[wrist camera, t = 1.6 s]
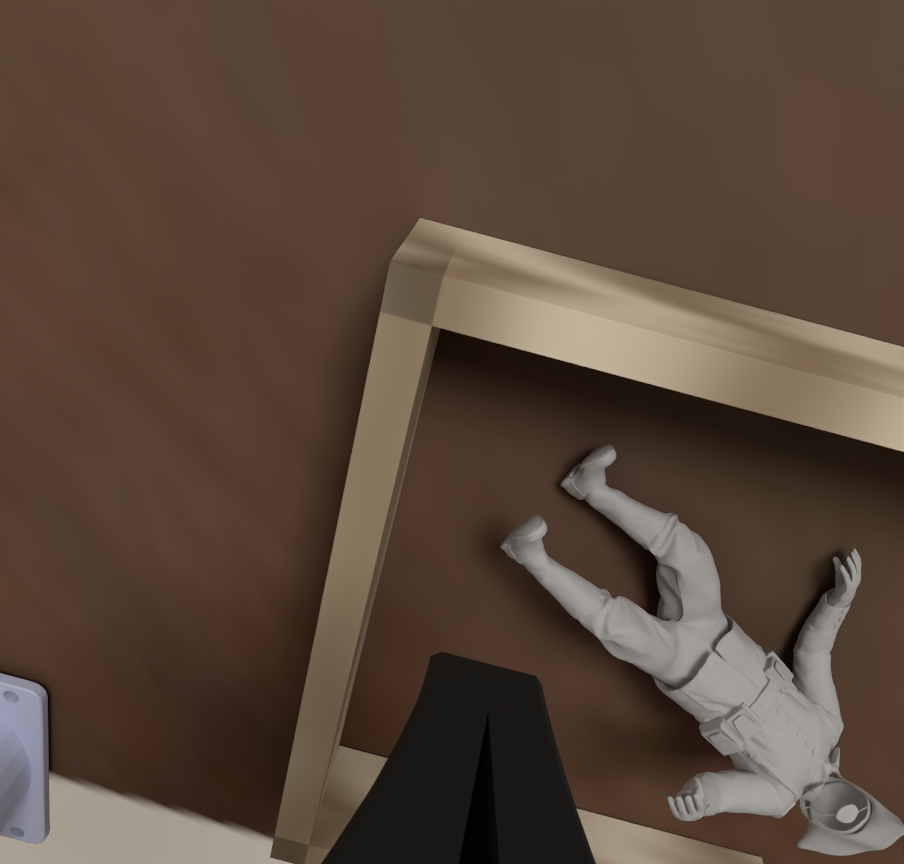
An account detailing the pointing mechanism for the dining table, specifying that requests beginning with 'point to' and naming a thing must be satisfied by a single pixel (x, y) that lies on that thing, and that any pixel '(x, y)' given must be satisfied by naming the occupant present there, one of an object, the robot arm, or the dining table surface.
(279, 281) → the dining table surface
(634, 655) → the soldier figure
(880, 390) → the beech frame
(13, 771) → the robot arm
